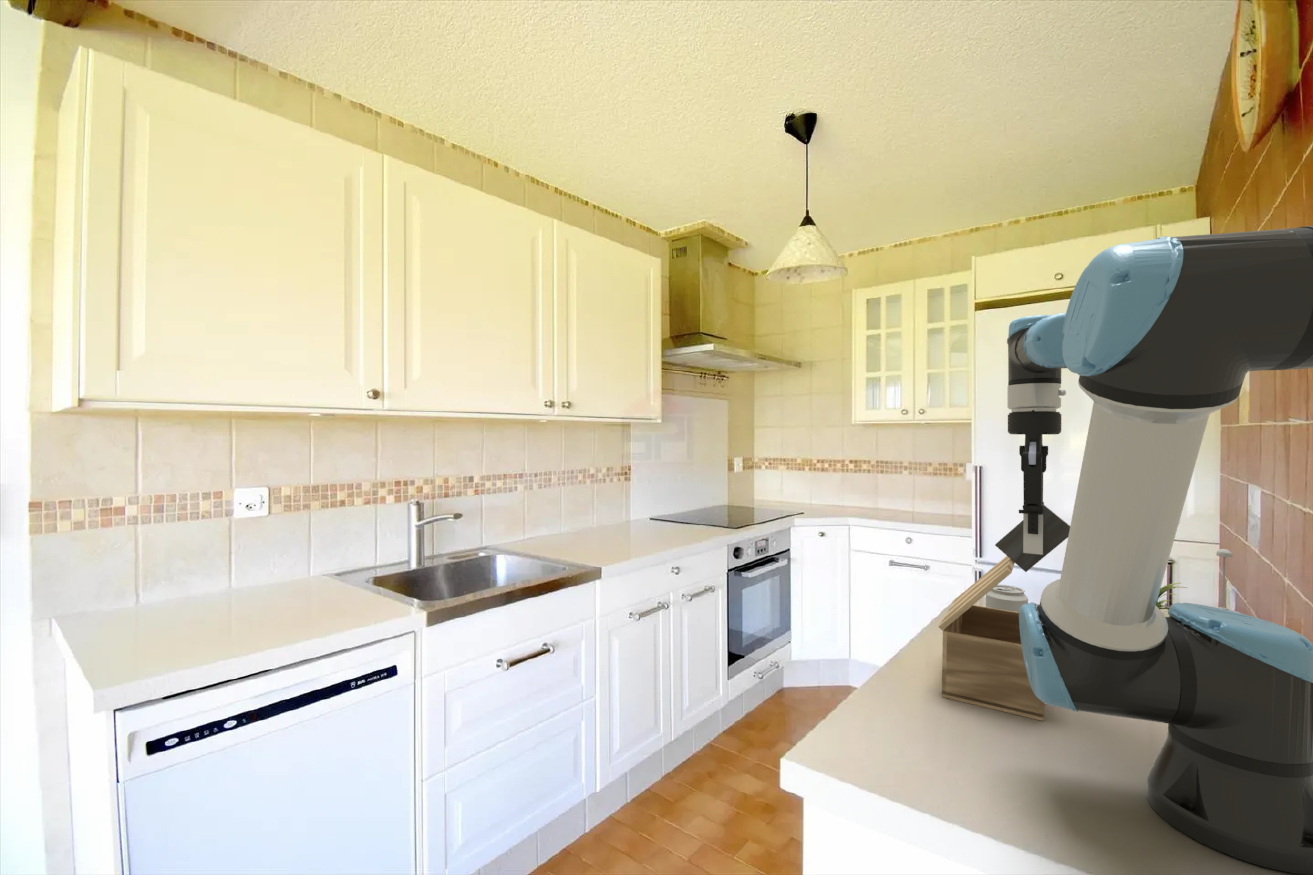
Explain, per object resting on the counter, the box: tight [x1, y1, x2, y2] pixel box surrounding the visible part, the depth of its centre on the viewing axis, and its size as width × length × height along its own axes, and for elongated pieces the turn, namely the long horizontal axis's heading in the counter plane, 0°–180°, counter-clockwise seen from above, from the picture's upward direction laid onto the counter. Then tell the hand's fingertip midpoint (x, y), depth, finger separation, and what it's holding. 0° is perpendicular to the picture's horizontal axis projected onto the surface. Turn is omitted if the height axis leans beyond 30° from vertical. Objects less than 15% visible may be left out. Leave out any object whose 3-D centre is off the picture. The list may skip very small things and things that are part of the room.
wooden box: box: [941, 604, 1046, 722], centre depth 101 cm, size 20×14×11 cm
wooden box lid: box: [938, 503, 1071, 632], centre depth 100 cm, size 20×24×6 cm
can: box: [985, 584, 1029, 612], centre depth 120 cm, size 8×8×12 cm
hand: (1033, 552), depth 98 cm, fingers closed on wooden box lid, 2 cm apart
